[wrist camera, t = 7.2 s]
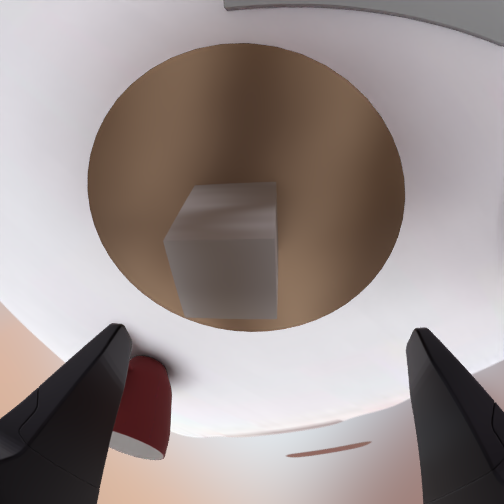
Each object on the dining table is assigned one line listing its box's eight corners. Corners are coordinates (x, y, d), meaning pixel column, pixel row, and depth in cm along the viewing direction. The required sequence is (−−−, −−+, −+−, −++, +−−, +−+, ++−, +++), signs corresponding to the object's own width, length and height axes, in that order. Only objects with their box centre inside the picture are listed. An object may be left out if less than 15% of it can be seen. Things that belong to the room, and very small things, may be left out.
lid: (409, 51, 9) (478, 56, 5) (372, 318, 17) (389, 389, 13) (69, 81, 10) (-9, 106, 6) (139, 316, 18) (113, 379, 14)
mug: (89, 329, 29) (52, 407, 21) (148, 323, 27) (113, 418, 19) (140, 384, 35) (118, 454, 26) (196, 384, 33) (180, 463, 24)
